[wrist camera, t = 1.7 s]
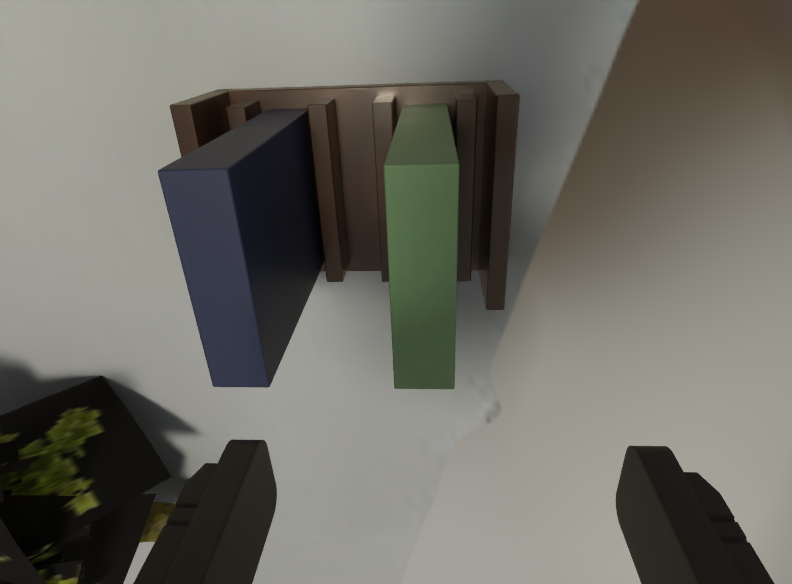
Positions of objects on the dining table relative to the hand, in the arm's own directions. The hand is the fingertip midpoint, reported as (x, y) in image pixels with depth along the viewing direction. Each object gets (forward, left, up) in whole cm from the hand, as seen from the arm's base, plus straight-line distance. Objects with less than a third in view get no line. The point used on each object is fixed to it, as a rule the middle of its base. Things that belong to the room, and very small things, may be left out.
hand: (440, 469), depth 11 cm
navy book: (+8, 0, -21) cm, 22 cm away
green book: (+1, 0, -21) cm, 21 cm away
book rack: (+4, 0, -22) cm, 22 cm away
